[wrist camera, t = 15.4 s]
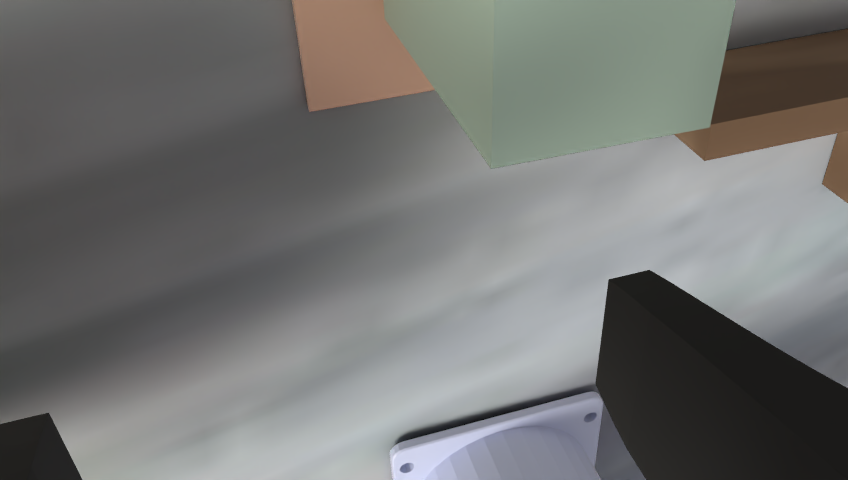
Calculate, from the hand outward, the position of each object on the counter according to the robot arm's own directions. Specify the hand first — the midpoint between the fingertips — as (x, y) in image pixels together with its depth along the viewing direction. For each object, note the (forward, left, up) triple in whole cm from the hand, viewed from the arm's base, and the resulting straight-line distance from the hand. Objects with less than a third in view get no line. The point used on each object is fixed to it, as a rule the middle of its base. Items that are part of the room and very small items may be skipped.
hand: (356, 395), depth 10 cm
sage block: (+3, -5, -10) cm, 12 cm away
